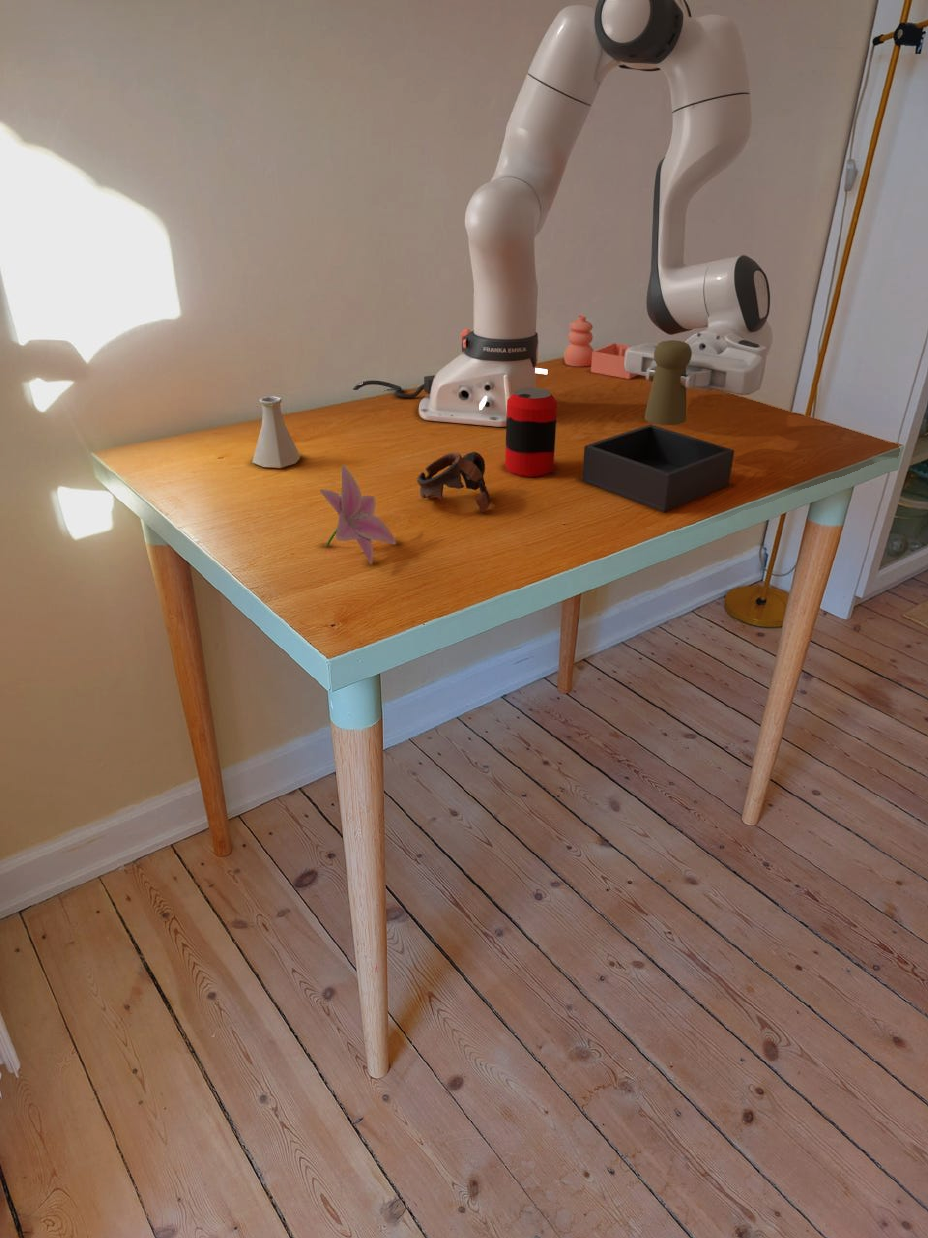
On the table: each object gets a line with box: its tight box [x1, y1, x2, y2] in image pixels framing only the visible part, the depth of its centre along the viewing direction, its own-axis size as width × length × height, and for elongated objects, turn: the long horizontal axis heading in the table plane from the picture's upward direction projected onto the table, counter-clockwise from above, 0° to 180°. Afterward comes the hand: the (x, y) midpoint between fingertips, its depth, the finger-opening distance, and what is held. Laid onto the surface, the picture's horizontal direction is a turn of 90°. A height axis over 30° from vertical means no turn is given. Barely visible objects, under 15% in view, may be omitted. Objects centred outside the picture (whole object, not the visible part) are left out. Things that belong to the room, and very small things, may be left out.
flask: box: [252, 395, 301, 469], centre depth 141 cm, size 7×7×10 cm
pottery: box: [563, 315, 638, 380], centre depth 191 cm, size 18×10×10 cm, turn 53°
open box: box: [581, 424, 735, 513], centre depth 135 cm, size 16×16×6 cm
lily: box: [319, 464, 397, 565], centre depth 114 cm, size 12×12×10 cm
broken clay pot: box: [416, 451, 492, 514], centre depth 129 cm, size 12×10×8 cm
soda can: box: [504, 387, 558, 478], centre depth 138 cm, size 8×8×12 cm
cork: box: [643, 339, 692, 426], centre depth 129 cm, size 6×6×11 cm
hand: (667, 378), depth 128 cm, fingers closed on cork, 4 cm apart
